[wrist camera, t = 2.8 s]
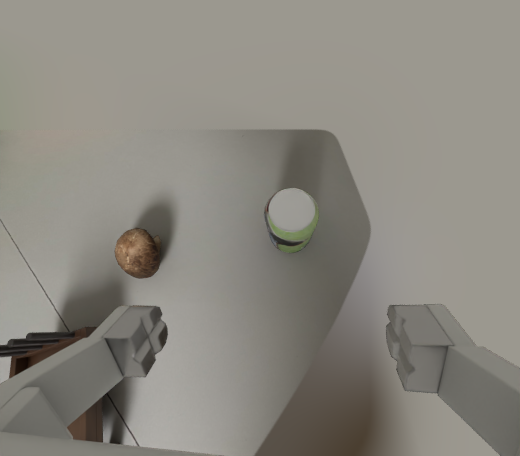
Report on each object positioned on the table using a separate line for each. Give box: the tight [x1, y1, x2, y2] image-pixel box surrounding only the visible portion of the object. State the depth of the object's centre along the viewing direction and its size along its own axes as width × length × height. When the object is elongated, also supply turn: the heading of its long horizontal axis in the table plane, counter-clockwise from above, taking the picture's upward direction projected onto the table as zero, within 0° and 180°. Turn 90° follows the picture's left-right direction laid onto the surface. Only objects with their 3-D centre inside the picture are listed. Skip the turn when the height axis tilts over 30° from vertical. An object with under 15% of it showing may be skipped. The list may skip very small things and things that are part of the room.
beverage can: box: [264, 188, 319, 253], centre depth 32 cm, size 6×7×12 cm
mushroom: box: [115, 228, 161, 279], centre depth 39 cm, size 8×8×6 cm
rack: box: [0, 327, 120, 444], centre depth 30 cm, size 16×11×11 cm
